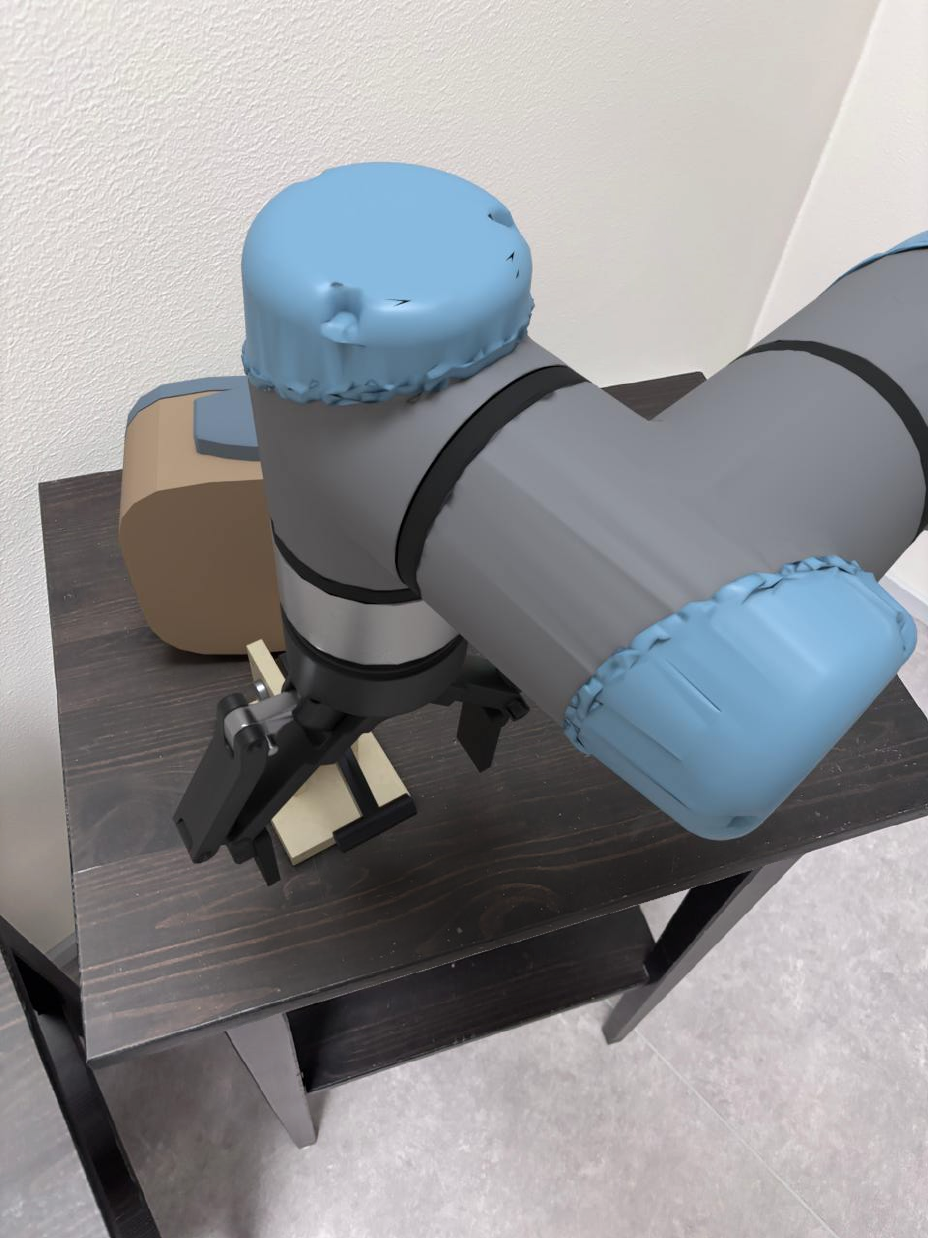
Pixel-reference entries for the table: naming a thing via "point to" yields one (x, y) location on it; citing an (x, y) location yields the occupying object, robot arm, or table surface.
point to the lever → (362, 798)
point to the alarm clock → (199, 518)
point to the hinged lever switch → (321, 779)
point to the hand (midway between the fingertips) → (373, 805)
